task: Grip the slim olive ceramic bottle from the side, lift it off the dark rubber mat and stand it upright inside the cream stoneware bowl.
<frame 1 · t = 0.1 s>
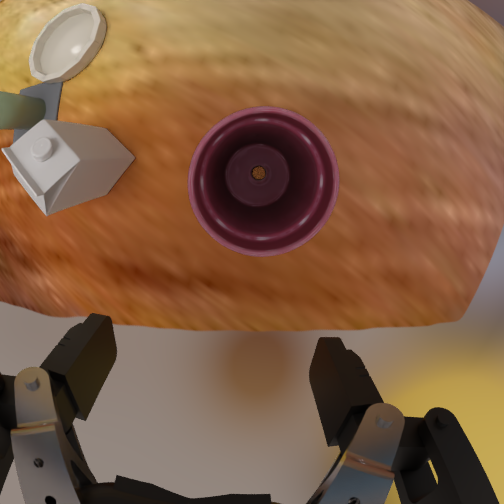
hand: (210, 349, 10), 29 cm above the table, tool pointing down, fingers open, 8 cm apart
mat: (36, 114, 30), on the table
plant pot: (257, 175, 36), on the table
olive bottle: (34, 113, 30), resting on mat
milk carton: (106, 161, 34), on the table
bowl: (70, 44, 27), on the table
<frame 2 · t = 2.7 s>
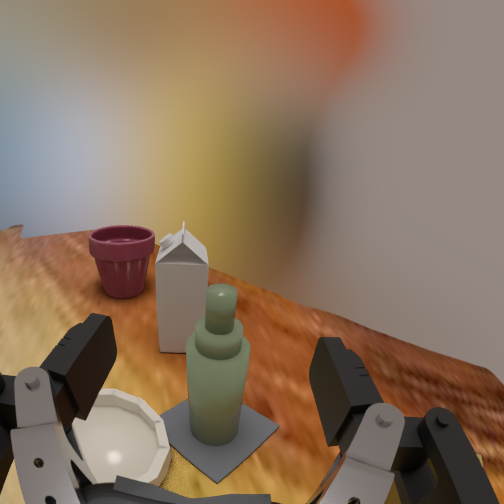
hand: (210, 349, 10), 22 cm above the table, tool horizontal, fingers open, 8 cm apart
mat: (214, 428, 27), on the table
plant pot: (124, 289, 56), on the table
olive bottle: (214, 427, 27), resting on mat
milk carton: (182, 341, 43), on the table
bowl: (107, 449, 21), on the table
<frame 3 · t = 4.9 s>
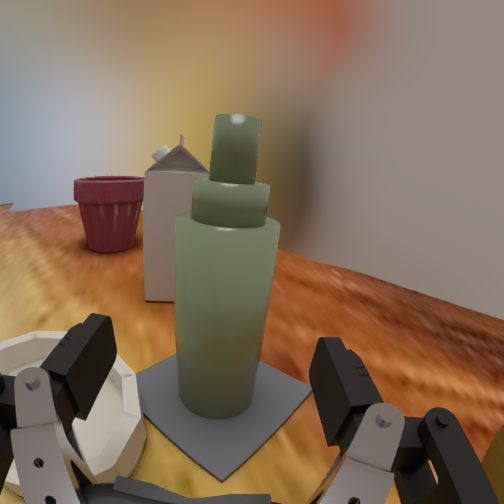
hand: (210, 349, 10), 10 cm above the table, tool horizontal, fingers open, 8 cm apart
mat: (215, 394, 19), on the table
plant pot: (111, 246, 48), on the table
olive bottle: (215, 391, 19), resting on mat
milk carton: (175, 291, 35), on the table
bowl: (52, 420, 12), on the table
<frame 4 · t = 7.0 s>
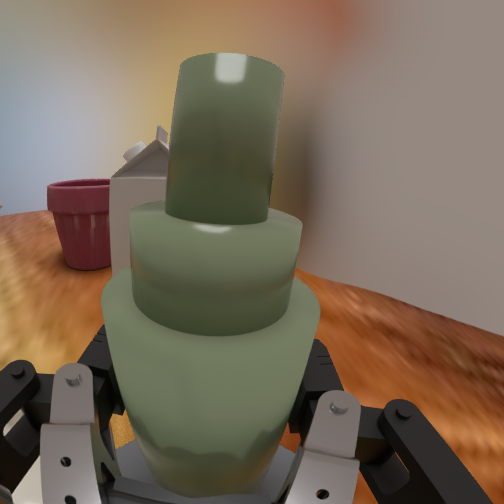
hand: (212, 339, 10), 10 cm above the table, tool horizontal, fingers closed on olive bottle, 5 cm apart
mat: (208, 488, 11), on the table
plant pot: (92, 260, 40), on the table
olive bottle: (208, 486, 11), resting on mat, touching gripper
milk carton: (159, 326, 27), on the table
bowl: (13, 503, 5), on the table
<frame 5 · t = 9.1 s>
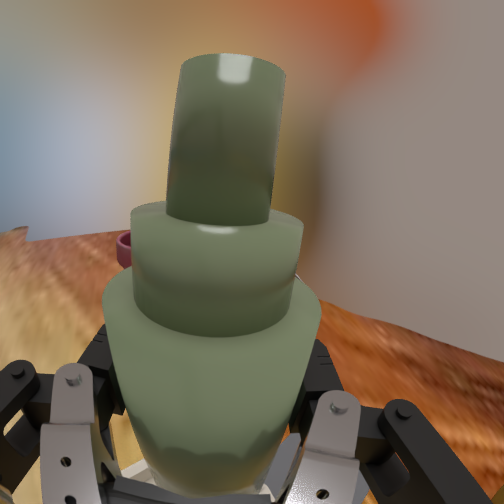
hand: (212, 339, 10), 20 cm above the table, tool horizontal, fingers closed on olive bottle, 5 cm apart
mat: (317, 478, 19), on the table
plant pot: (159, 305, 48), on the table
olive bottle: (208, 486, 11), point 10 cm above the table, touching gripper
when the fingers open (12 cm above the table, at t = 11.3 s): olive bottle drops 1 cm, resting on bowl.
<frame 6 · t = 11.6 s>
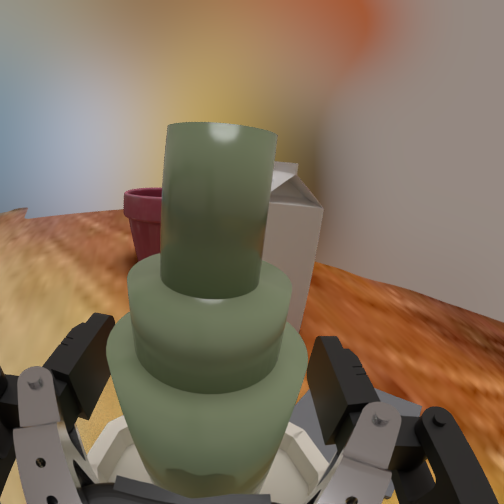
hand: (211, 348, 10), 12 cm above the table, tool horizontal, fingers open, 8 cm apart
mat: (354, 427, 18), on the table
plant pot: (164, 265, 47), on the table
olive bottle: (207, 495, 11), point 1 cm above the table, touching bowl
milk carton: (262, 321, 34), on the table
bowl: (208, 497, 12), on the table
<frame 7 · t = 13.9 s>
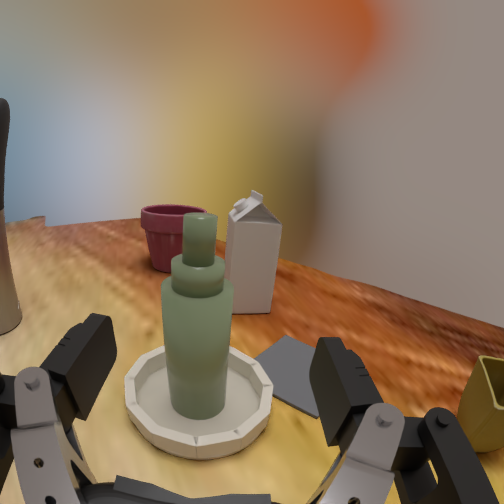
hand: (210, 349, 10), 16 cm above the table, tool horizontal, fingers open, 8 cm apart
mat: (298, 372, 31), on the table
plant pot: (172, 266, 61), on the table
olive bottle: (197, 399, 25), point 1 cm above the table, touching bowl
milk carton: (244, 305, 47), on the table
bowl: (198, 403, 25), on the table
flower pot: (471, 439, 17), on the table
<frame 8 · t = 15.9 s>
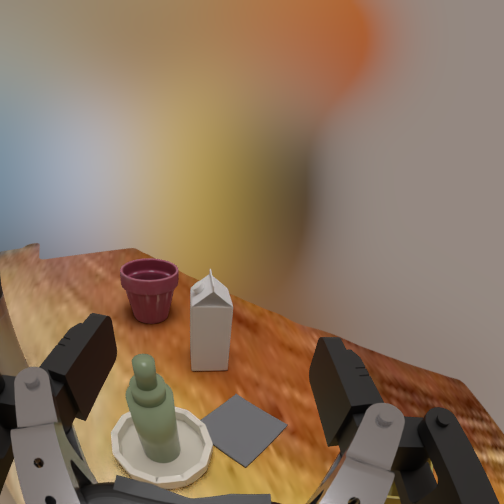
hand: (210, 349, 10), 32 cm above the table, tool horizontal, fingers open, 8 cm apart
mat: (240, 428, 37), on the table
plant pot: (151, 314, 66), on the table
olive bottle: (161, 448, 31), point 1 cm above the table, touching bowl
milk carton: (208, 360, 53), on the table
bowl: (162, 449, 31), on the table
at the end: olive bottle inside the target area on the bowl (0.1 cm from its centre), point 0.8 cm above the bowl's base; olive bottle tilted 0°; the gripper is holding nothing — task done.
